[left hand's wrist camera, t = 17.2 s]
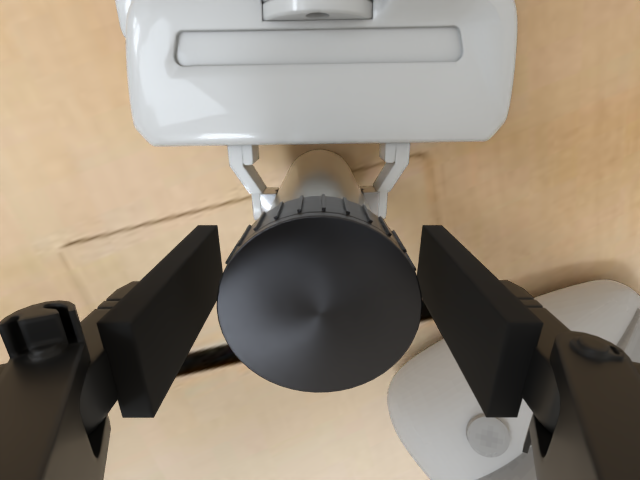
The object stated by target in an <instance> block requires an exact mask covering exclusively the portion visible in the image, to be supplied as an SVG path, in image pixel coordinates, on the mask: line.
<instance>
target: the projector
mask: <svg viewBox="0 0 640 480" xmlns="http://www.w3.org/2000/svg"><path fill="white" fill-rule="evenodd" d="M534 300H537V301H538V302H539V303H540V304H541V305H542V306H543V308H546V309H547V310H548V311H549V312H550V313H552V314H553V315H554V316H555V317H556V318H557V319H558V320H559V321H561V322H562V323H563V324H564V325H565V326H566V327H567V328H568V329H570V330H571V331H577V332H584V333H588V334H591V335H595V336H598V337H600V338H603V339H605V340H607V341H609V342H611V343H613V344H614V345H616V346H617V347H619V348H621V349H622V350H623V351H624V352H625V353H626V354H627V355H628V356H629V357H630V359H631V361H632V362H637V363H640V296H639V295H638V294H637V293H636V292H635V291H634V290H633V289H631V288H630V287H628V286H626V285H624V284H622V283H620V282H617V281H613V280H606V279H605V280H594V281H589V282H585V283H581V284H577V285H573V286H570V287H566V288H563V289H559V290H556V291H553V292H550V293H547V294H544V295H541V296H537V297H535V298H534ZM387 403H388V409H389V414H390V417H391V420H392V424H393V426H394V429H395V431H396V433H397V435H398V437H399V438H400V440H401V442H402V443H403V445H404V446H405V448H406V449H407V451H408V452H409V453H410V455H411V456H412V458H413V459H414V460H415V461H416V463H417V464H418V465H419V467H420V468H421V469H422V470H423V471H424V473H425V474H426V475H427V476H428V477H429V478H430V480H537V477H536V470H535V464H534V457H533V450H532V445H531V446H530V447H529V451H528V454H527V453H524V452H522V450H523V444H524V441H525V438H526V434H527V431H528V428H529V424H530V421H531V417H532V414H533V412H532V411H531V409H530V408H529V406H528V405H527V404H526V402H525V401H524V399H522V402H521V406H520V410H519V413H518V417H517V418H486V416H485V414H484V413H483V411H482V409H481V407H480V405H479V403H478V401H477V399H476V398H475V396H474V394H473V392H472V390H471V388H470V386H469V385H468V383H467V381H466V379H465V377H464V375H463V373H462V372H461V370H460V368H459V366H458V364H457V362H456V360H455V359H454V357H453V355H452V353H451V351H450V349H449V347H448V346H447V344H446V342H445V340H444V339H442V340H440V341H438V342H437V343H435V344H433V345H431V346H430V347H428V348H427V349H425V350H423V351H422V352H420V353H419V354H417V355H416V356H414V357H413V358H412V359H410V360H409V361H408V362H407V363H405V364H404V365H403V366H402V367H401V368H400V369H399V370H398V371H397V373H396V374H395V375H394V377H393V378H392V381H391V383H390V385H389V388H388V395H387Z"/></svg>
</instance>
